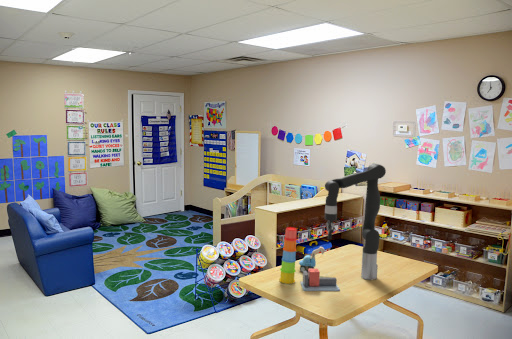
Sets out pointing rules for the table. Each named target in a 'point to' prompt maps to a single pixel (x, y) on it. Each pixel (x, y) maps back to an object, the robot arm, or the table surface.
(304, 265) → the toy excavator
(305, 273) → the coupler rail
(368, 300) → the table surface
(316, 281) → the red slotted block
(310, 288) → the base board
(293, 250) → the stacking cups
